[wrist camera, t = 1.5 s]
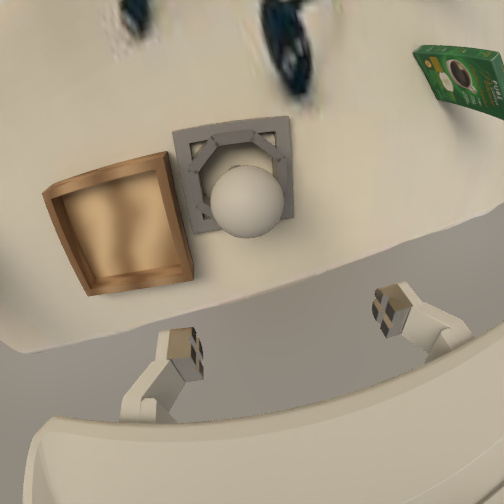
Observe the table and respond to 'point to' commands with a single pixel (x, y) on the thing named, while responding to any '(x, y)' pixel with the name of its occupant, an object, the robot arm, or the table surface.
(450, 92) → the coffee box
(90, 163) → the table surface
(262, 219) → the lightbulb
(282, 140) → the socket
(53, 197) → the tray
